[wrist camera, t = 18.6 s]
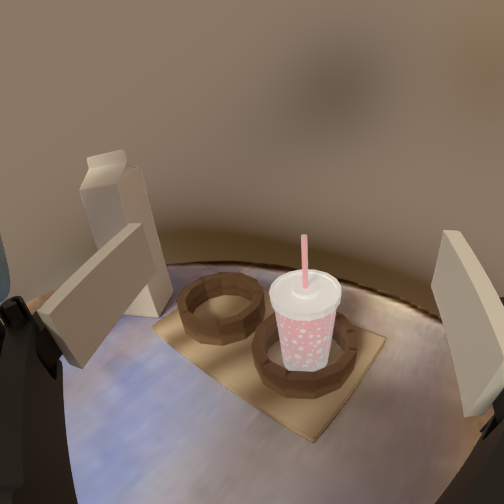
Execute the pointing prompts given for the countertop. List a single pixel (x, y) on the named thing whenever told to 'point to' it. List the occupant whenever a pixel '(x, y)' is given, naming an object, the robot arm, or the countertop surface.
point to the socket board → (246, 376)
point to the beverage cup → (305, 314)
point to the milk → (125, 220)
